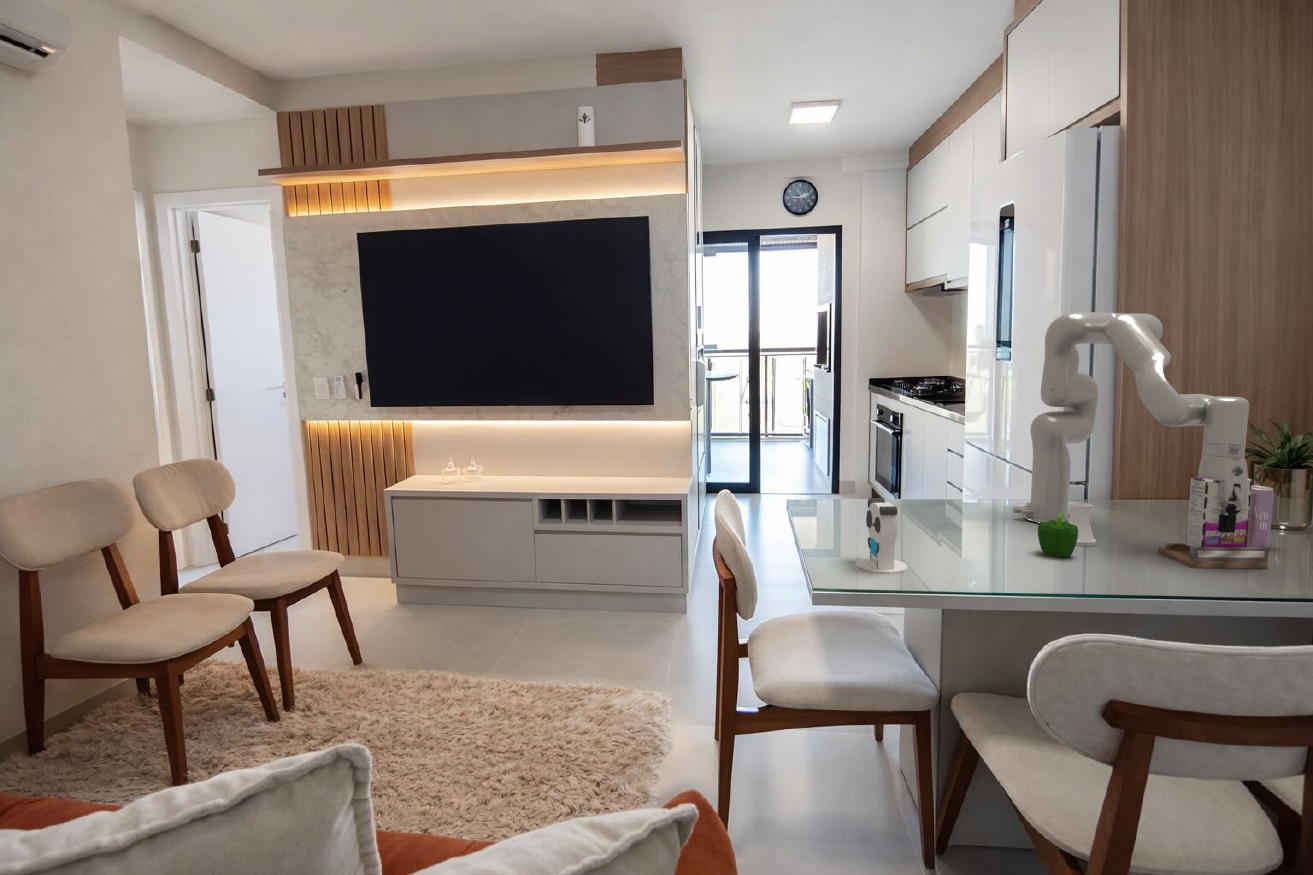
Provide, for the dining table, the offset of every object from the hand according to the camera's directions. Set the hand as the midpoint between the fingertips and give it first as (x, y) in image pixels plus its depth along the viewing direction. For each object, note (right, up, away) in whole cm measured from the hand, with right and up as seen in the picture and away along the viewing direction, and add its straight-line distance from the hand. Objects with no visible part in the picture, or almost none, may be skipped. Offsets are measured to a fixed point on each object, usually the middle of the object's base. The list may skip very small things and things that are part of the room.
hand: (1216, 527), depth 161 cm
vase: (-21, -6, +19) cm, 29 cm away
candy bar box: (0, -5, +1) cm, 5 cm away
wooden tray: (0, -8, +2) cm, 8 cm away
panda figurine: (-77, -9, +1) cm, 78 cm away
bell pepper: (-32, -8, +8) cm, 34 cm away
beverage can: (+19, -7, +13) cm, 24 cm away
